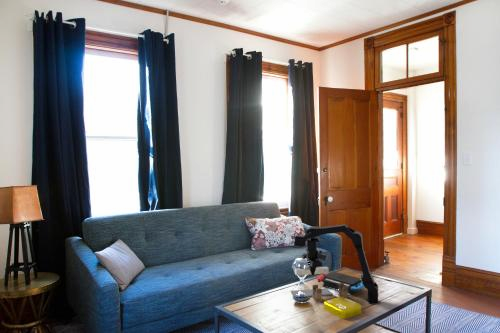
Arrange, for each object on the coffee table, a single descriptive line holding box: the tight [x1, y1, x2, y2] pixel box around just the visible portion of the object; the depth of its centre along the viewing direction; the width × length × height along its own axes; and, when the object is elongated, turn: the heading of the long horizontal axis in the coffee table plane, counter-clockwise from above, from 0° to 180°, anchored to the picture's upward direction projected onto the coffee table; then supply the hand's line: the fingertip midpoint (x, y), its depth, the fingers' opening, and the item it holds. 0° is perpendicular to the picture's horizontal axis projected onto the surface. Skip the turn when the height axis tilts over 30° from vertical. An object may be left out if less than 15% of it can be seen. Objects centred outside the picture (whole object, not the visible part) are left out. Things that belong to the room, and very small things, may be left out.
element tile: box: [323, 296, 363, 320], centre depth 199 cm, size 15×15×5 cm
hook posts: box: [311, 283, 349, 303], centre depth 214 cm, size 6×19×8 cm, turn 101°
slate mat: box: [290, 287, 334, 298], centre depth 221 cm, size 9×23×1 cm, turn 101°
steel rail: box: [294, 266, 330, 276], centre depth 221 cm, size 3×20×3 cm, turn 101°
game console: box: [316, 270, 365, 295], centre depth 231 cm, size 28×6×15 cm
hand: (311, 274), depth 221 cm, fingers closed on steel rail, 3 cm apart
